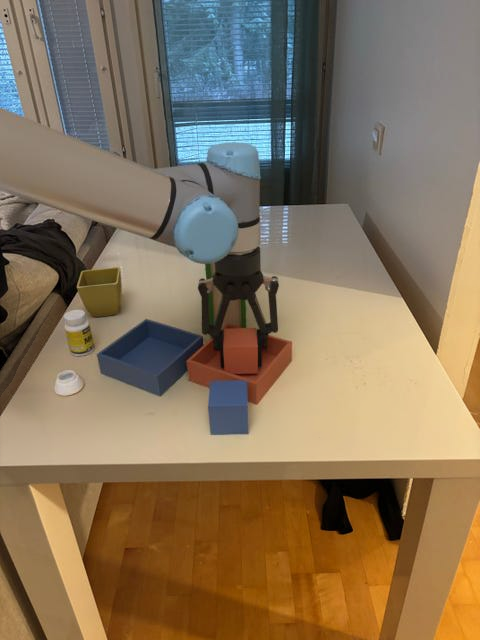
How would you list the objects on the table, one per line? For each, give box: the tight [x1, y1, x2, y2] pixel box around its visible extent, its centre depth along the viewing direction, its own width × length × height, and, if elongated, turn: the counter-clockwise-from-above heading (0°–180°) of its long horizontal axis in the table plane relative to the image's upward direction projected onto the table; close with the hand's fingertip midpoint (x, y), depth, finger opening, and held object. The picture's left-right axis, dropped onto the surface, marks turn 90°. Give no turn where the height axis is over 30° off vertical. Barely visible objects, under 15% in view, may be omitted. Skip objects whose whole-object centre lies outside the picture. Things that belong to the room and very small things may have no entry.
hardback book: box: [204, 262, 247, 340], centre depth 97 cm, size 18×7×24 cm, turn 3°
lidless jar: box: [53, 369, 85, 397], centre depth 84 cm, size 5×3×5 cm
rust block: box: [223, 327, 258, 374], centre depth 85 cm, size 6×6×6 cm
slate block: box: [207, 380, 249, 436], centre depth 74 cm, size 6×6×6 cm
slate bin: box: [96, 318, 205, 397], centre depth 89 cm, size 14×14×4 cm
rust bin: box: [187, 324, 293, 406], centre depth 86 cm, size 14×14×4 cm
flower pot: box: [76, 266, 123, 318], centre depth 106 cm, size 9×9×9 cm
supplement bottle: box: [63, 309, 95, 357], centre depth 93 cm, size 5×5×8 cm
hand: (241, 362), depth 86 cm, fingers closed on rust block, 6 cm apart
